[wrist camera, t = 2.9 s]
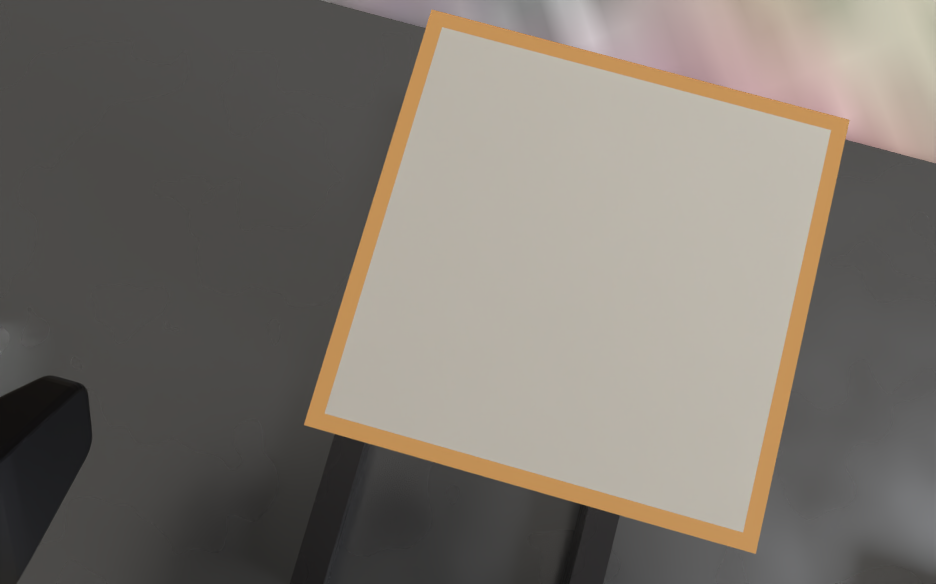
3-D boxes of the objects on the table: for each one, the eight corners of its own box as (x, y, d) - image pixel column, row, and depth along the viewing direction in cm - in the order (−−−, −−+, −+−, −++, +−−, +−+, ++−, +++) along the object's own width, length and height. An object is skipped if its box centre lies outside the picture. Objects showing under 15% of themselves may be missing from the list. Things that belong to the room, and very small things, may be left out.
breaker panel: (1097, 914, 17) (1353, 1109, 12) (-238, 517, 18) (-500, 549, 13) (1190, 261, 19) (1438, 202, 14) (-6, -58, 20) (-155, -213, 16)
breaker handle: (567, 478, 17) (818, 591, 5) (394, 429, 17) (234, 424, 5) (603, 334, 17) (913, 121, 5) (435, 288, 18) (377, -20, 6)
